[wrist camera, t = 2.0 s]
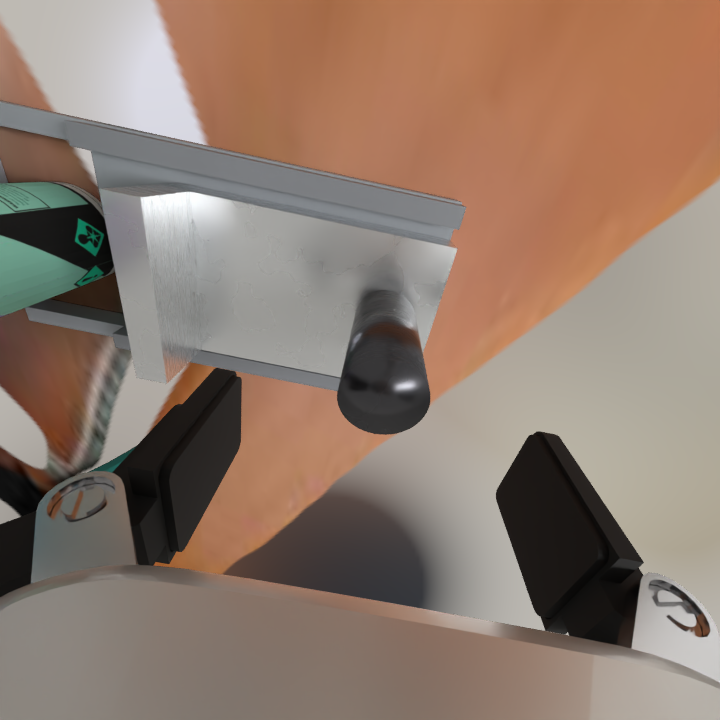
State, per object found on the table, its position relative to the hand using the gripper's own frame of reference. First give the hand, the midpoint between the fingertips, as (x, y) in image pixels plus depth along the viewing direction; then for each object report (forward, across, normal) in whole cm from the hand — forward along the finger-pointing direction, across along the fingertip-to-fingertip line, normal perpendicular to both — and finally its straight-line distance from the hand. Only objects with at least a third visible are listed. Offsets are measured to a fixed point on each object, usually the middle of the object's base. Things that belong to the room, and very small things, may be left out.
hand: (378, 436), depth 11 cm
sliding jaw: (+10, +5, -1) cm, 11 cm away
